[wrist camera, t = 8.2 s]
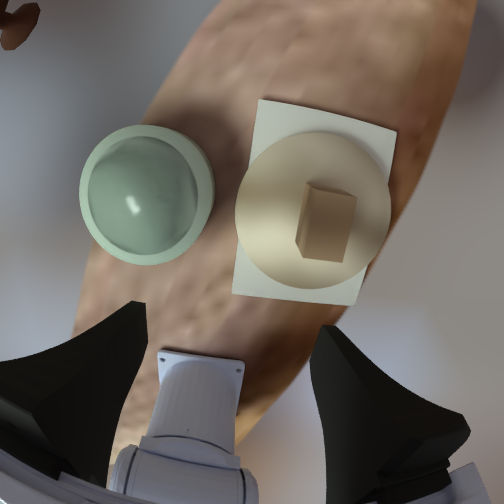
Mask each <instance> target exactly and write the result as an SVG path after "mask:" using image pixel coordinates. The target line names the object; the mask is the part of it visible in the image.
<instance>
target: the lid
mask: <svg viewBox="0 0 504 504" xmlns="http://www.w3.org/2000/svg"><path fill="white" fill-rule="evenodd" d="M390 218H391V198H390V193H389V188H388V185H387V182H386V179H385V177H384V175H383V173H382V171H381V169H380V168H379V166H378V165H377V163H376V162H375V160H374V159H373V158H372V157H371V156H370V155H369V154H368V153H367V152H366V151H365V150H364V149H362V148H361V147H360V146H358V145H357V144H355V143H354V142H352V141H350V140H348V139H345V138H343V137H340V136H337V135H334V134H328V133H316V132H311V133H303V134H298V135H294V136H290V137H287V138H285V139H283V140H280V141H278V142H276V143H275V144H273V145H271V146H270V147H268V148H267V149H266V150H265V151H263V152H262V153H261V154H260V155H259V156H258V157H257V158H256V159H255V160H254V161H253V163H252V164H251V166H250V167H249V168H248V170H247V171H246V173H245V175H244V177H243V179H242V181H241V184H240V187H239V190H238V194H237V199H236V206H235V221H236V228H237V233H238V237H239V239H240V242H241V245H242V247H243V249H244V251H245V252H246V254H247V256H248V257H249V258H250V260H251V261H252V263H253V264H254V265H255V266H256V267H257V268H258V269H259V270H260V271H262V272H263V273H264V274H265V275H267V276H268V277H270V278H271V279H273V280H275V281H277V282H279V283H281V284H284V285H287V286H290V287H294V288H300V289H321V288H326V287H331V286H334V285H337V284H340V283H342V282H344V281H346V280H348V279H350V278H352V277H353V276H355V275H356V274H358V273H359V272H360V271H361V270H363V269H364V268H365V267H366V266H367V265H368V264H369V263H370V262H371V261H372V259H373V258H374V257H375V256H376V254H377V253H378V251H379V249H380V248H381V246H382V244H383V242H384V240H385V238H386V235H387V232H388V228H389V224H390Z"/></svg>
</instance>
